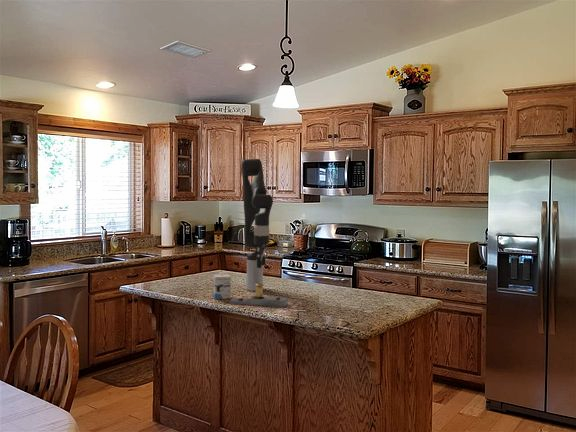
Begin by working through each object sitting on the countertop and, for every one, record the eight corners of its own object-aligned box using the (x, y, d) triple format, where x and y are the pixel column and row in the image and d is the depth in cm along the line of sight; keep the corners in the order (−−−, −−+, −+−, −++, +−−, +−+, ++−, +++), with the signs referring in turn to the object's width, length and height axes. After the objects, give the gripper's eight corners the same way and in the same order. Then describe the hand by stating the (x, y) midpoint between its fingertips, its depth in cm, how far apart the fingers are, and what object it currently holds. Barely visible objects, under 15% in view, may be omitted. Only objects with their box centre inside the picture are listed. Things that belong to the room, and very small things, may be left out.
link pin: (255, 302, 264) (256, 283, 263) (263, 303, 263) (264, 283, 263) (253, 304, 260) (254, 284, 259) (261, 305, 259) (262, 285, 258)
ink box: (214, 299, 270) (214, 276, 270) (213, 297, 275) (213, 275, 275) (230, 298, 273) (231, 276, 272) (229, 296, 277) (229, 274, 277)
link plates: (233, 300, 267) (233, 293, 267) (287, 304, 262) (287, 296, 262) (229, 303, 260) (230, 296, 260) (285, 307, 256) (285, 299, 255)
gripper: (257, 232, 268) (257, 264, 269) (250, 235, 254) (250, 268, 255) (272, 233, 267) (271, 264, 268) (265, 236, 253) (265, 269, 254)
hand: (261, 266), depth 261 cm, fingers open, 8 cm apart
